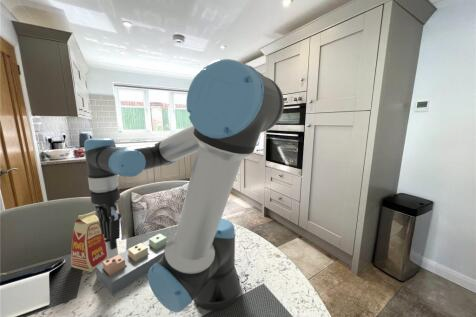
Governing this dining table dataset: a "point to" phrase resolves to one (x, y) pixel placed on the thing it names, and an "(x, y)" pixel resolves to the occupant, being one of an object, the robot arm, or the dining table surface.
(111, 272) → the tile three
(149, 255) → the button board
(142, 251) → the tile two
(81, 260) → the milk carton
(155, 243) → the tile one
